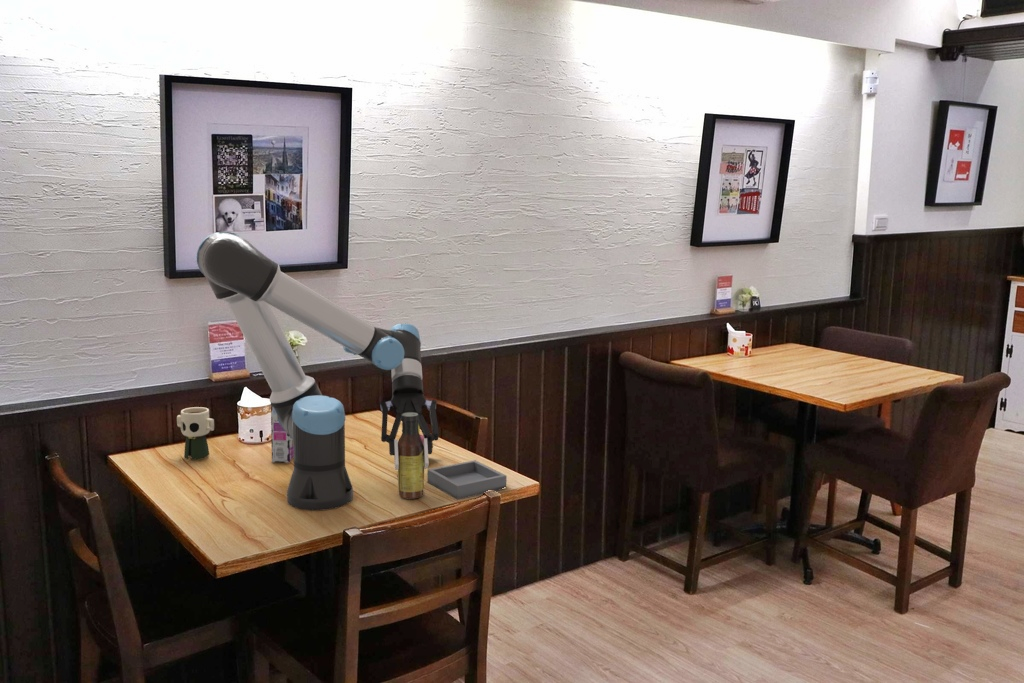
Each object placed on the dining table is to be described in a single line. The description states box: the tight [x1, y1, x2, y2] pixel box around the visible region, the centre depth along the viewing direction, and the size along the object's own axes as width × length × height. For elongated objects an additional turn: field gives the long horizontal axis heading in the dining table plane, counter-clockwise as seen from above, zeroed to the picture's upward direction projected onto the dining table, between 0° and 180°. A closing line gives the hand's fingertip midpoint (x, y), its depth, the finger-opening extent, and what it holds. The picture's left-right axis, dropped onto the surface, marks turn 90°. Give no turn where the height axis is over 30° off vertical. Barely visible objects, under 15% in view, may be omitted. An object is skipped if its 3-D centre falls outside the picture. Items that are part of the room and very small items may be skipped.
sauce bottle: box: [397, 412, 425, 500], centre depth 216 cm, size 6×6×20 cm
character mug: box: [176, 406, 215, 461], centre depth 241 cm, size 11×7×13 cm, turn 74°
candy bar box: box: [270, 403, 294, 464], centre depth 243 cm, size 11×5×16 cm, turn 2°
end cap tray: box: [427, 459, 508, 500], centre depth 226 cm, size 14×14×3 cm
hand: (411, 466), depth 213 cm, fingers closed on sauce bottle, 6 cm apart
